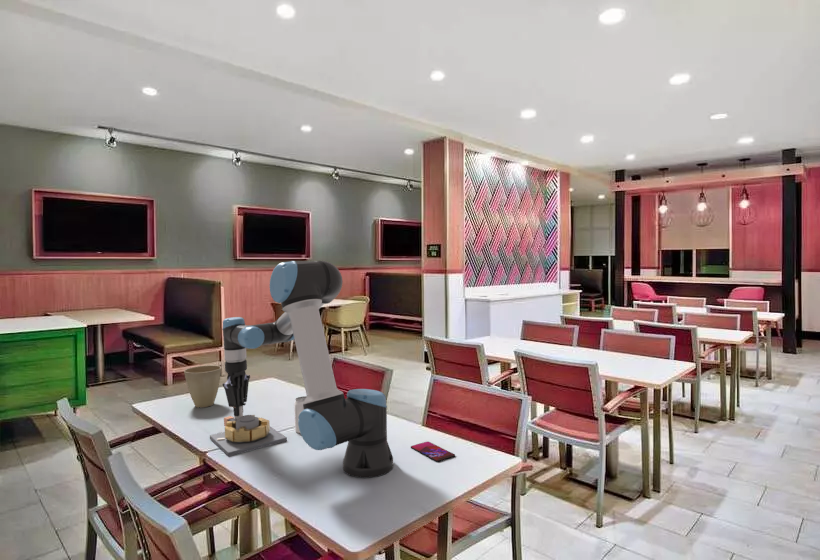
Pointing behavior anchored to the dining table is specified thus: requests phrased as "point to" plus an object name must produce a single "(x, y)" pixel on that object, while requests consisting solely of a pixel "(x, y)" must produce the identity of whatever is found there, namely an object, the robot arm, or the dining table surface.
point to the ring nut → (245, 430)
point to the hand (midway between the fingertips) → (239, 423)
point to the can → (298, 411)
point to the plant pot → (203, 384)
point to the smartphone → (433, 451)
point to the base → (241, 447)
